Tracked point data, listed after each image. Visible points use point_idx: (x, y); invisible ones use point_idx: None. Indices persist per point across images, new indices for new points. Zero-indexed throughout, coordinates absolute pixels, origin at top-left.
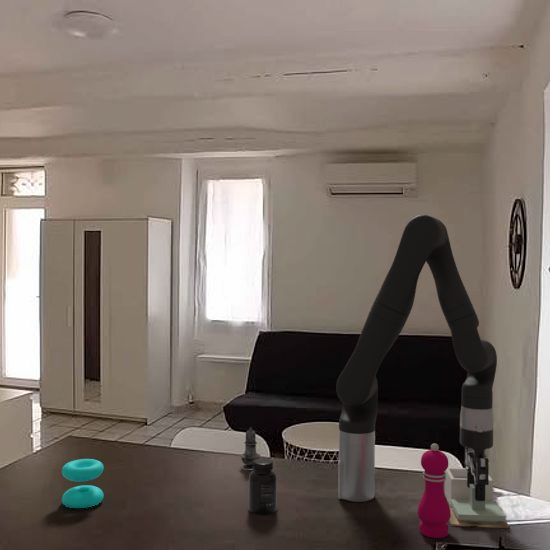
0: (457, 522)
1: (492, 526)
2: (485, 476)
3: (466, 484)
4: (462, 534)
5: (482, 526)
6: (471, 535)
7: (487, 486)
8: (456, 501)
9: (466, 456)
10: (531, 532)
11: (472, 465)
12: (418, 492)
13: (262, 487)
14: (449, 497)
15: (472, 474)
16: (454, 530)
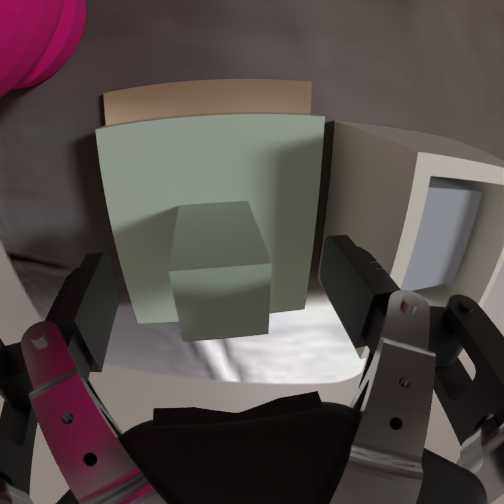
0: (125, 120)
1: None
2: (19, 427)
3: (382, 233)
4: (36, 140)
5: None
6: (37, 173)
7: None
8: (291, 140)
9: (370, 483)
10: (132, 347)
11: (62, 464)
12: (463, 51)
13: None
14: (384, 129)
15: (69, 371)
16: (63, 107)
